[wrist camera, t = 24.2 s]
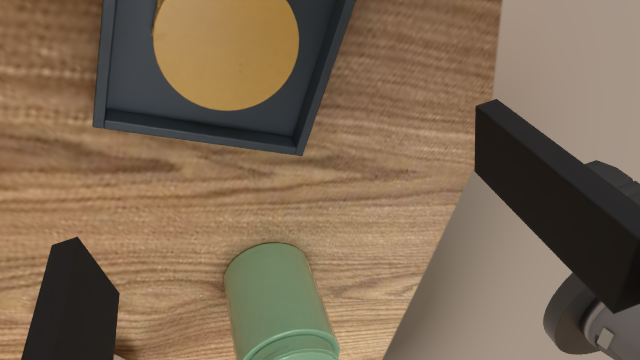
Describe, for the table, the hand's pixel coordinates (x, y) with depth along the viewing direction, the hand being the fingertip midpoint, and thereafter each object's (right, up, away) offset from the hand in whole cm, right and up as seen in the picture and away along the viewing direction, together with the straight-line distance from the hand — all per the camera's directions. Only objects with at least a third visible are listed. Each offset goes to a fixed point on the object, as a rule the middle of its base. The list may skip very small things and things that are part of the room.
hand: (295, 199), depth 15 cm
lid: (-4, +8, +11) cm, 15 cm away
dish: (-5, +10, +13) cm, 17 cm away
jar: (-4, -8, +26) cm, 27 cm away
